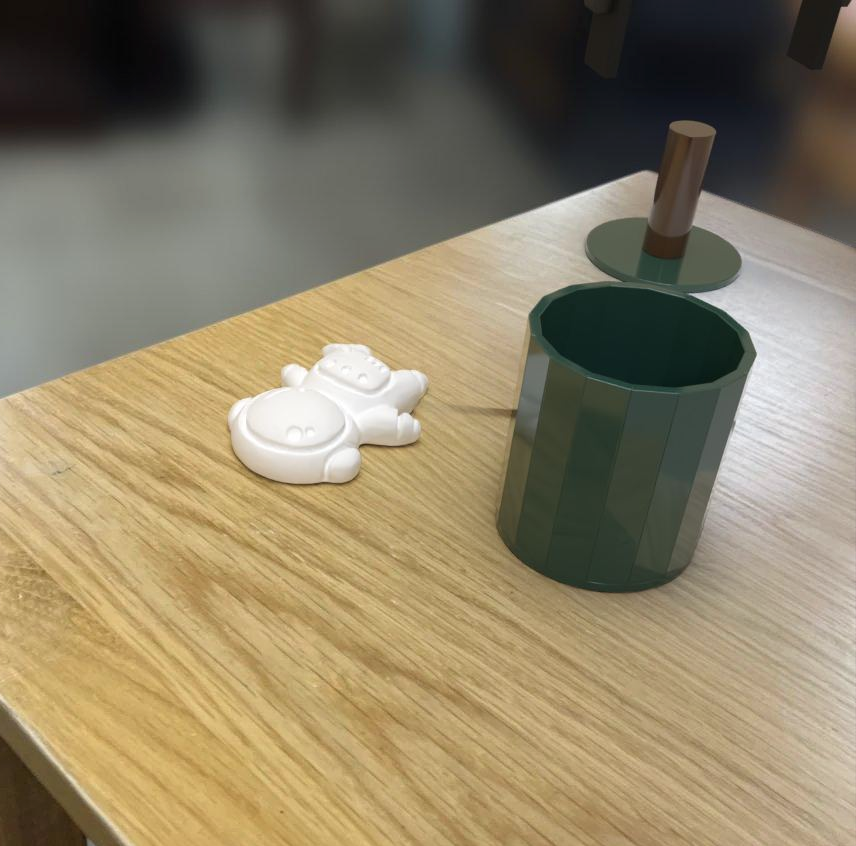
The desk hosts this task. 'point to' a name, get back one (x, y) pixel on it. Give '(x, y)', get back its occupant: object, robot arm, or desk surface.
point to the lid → (670, 225)
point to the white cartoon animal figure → (326, 417)
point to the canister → (619, 432)
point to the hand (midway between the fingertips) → (703, 67)
